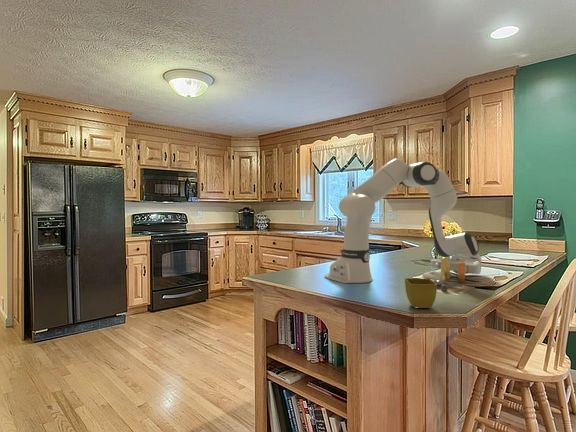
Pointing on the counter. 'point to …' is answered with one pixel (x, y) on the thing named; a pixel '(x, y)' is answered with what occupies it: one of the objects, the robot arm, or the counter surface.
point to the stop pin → (445, 269)
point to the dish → (433, 275)
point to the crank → (460, 277)
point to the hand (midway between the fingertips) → (447, 268)
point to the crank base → (453, 289)
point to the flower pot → (420, 292)
